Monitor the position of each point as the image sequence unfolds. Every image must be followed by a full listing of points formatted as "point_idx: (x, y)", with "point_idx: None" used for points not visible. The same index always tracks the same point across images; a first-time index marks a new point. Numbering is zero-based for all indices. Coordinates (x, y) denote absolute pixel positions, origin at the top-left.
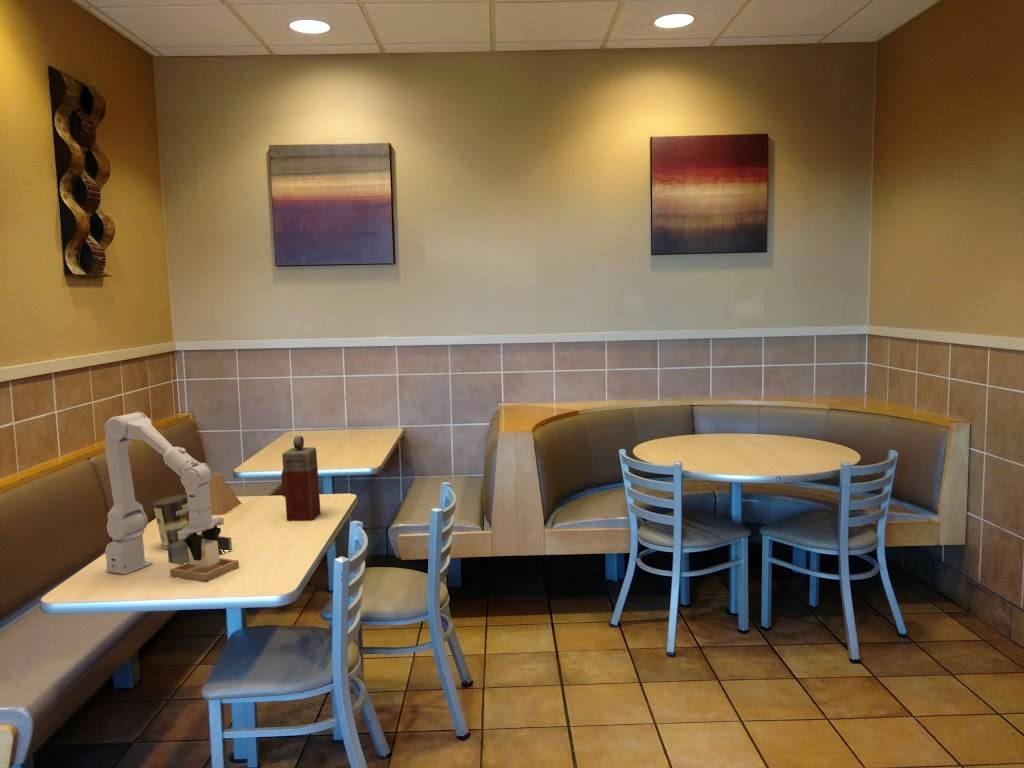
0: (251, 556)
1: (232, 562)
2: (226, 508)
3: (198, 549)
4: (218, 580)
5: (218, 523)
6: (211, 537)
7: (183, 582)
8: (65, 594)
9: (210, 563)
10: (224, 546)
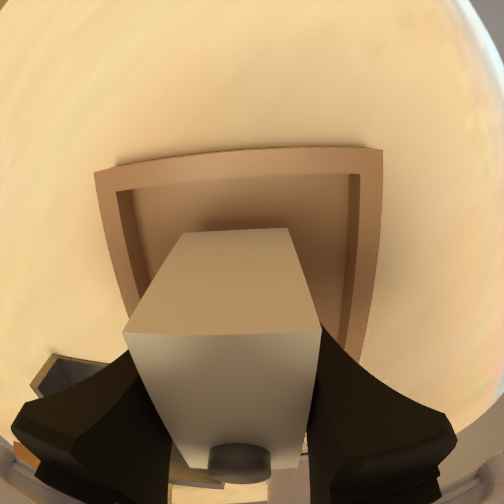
0: (24, 245)
1: (130, 173)
2: (29, 452)
3: (346, 357)
4: (317, 98)
5: (18, 473)
6: (135, 420)
7: (396, 260)
8: (464, 421)
9: (266, 234)
10: (62, 382)
